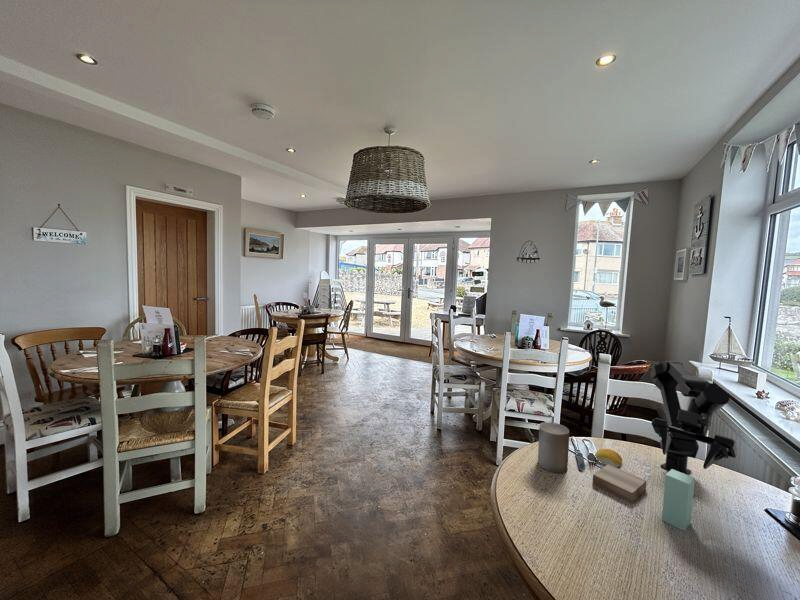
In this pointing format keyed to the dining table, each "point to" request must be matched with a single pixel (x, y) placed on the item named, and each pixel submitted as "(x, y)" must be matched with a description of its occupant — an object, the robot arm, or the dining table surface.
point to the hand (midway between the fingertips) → (683, 460)
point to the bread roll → (608, 457)
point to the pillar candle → (553, 447)
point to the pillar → (678, 499)
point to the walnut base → (619, 482)
